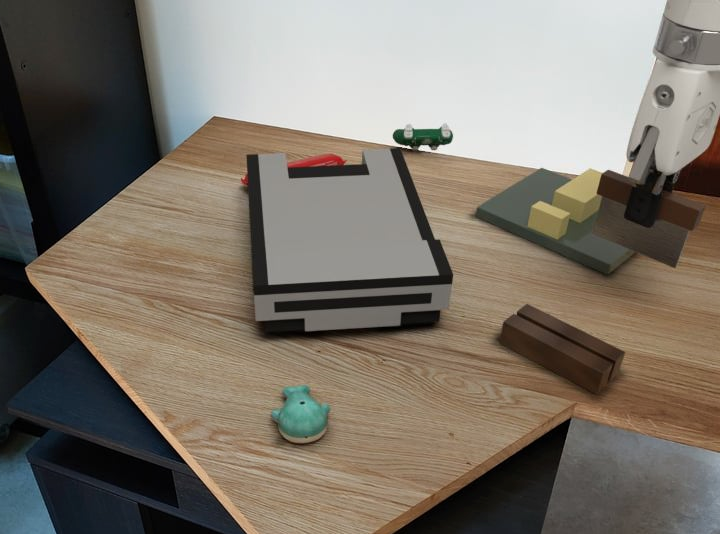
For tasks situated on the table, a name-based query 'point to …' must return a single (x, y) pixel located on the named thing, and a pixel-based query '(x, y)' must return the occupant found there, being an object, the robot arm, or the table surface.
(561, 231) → the butter pat
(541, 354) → the block
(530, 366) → the table surface
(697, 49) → the robot arm
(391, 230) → the game console
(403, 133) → the gaming controller
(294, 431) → the whale figurine
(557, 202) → the butter stick
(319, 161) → the candy bar
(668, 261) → the bench scraper
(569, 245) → the cutting board
